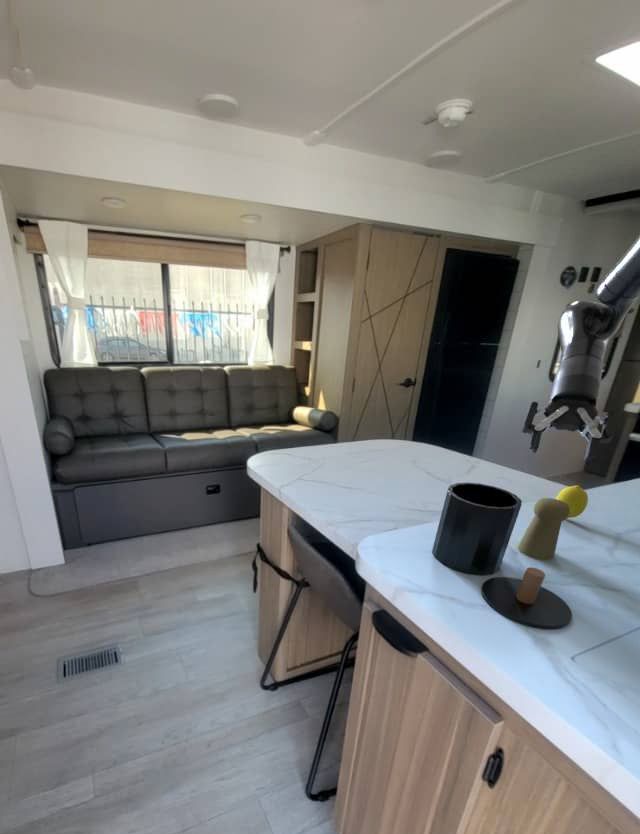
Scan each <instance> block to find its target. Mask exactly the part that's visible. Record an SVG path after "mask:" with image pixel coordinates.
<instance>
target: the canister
mask: <svg viewBox="0 0 640 834" xmlns="http://www.w3.org/2000/svg"><path fill="white" fill-rule="evenodd" d="M522 501H523V500H522V499H521V498H520V497H518V495H516V494H515V493H512V492H510V491H508V490H506V489H504V488H500V487H497V486H494V485H489V484H483V483H477V482H456V483H454V484H450V485H449V486H448V487H447V491H446V495H445V499H444V501H443V502H444V504H443V507H442V509H441V514H440V518H439V522H438V526H437V531H436V534H435V539H434V543H433V546H432V550H431V553H432V555H433V557H434V559H435V560H437V562H439V563H440V564H441V565H443V566H445V567H447V568H448V569H450V570H453V571H455V572H458V573H462V574H465V575H470V576H479V577H484V576H491V575H494V574H496V573H498V572H499V571H500V569H501V567H502V563H503V560H504V557H505V554H506V551H507V548H508V546H509V542H510V540H511V537H512V534H513V531H514V528H515V525H516V522H517V521H518V516H519V514H520V510H521V508H522V505H523V503H522Z"/></svg>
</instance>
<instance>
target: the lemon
mask: <svg viewBox="0 0 640 834" xmlns="http://www.w3.org/2000/svg"><path fill="white" fill-rule="evenodd" d="M555 499H557V500H560V501H563V502H565V503H566V504H567V505H568V506H569V508H570V511H569V515H568V517H567V518H566V519H565V520H568V519H571V518H577V517H578V516H580V515H582V514H583V512H584V511H585V510H586V508H587V506H588V502H589V497H588V494H587V492H586V490H585V489H583V488H582V487H581V486H580V485H577V484H576V485H572V486H571V485H570V486H567V487H564V488H563V489H562V490H561V491H560V492H558V494H557V496H556V498H555Z"/></svg>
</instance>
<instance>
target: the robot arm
mask: <svg viewBox="0 0 640 834" xmlns="http://www.w3.org/2000/svg"><path fill="white" fill-rule="evenodd" d="M595 295H596V298H597V300H598V301H599V302H596V301H591V300H587V299H580V300H576V301H573V302H572V303H570V304H569V305H568V306H566V307H565V309H564V310H563V311H562V313H561V315H560V317H559V320H558V324H557V335H558V340H559V345H560V351H561V355H560V359H559V363H558V364H559V365H558V368H557V370H556V373H555V375H554V379H553V381H552V387H551V392H550V396H549V401H548V404H547V405H539V402H537V401H532V402H531V403H530V406H529V408H528V410H527V413H526V416H525V420H524V422H523V426H522V429H521V432H522V433H523V434H529V435H530V440H529V444H528V449H529V450H531V453H533V454H536V453H537V452H538V450H539V447H540V444H541V443H540V442H541V438H542V434H543V433H547V432H548V431H549V430H550V429H552V428H555V430H558V431H559V430H560V431H563V430H566V431H568V432H576V431H577V432H578V433H579V434H580V436H581V437H583V438H584V439H586V441H587V444H586V447H585V454H584V459H583V460H584V461H588V462H589V461H590V460H592V459H594V458H595V457H596V456H597V454H598V452H599V449H600V448H599V447H600V444H605V445H606V444H609V443H610V442H611V440H612V438H614V437H615V434H616V423H617V413H618V412H617V410H615V409H610V410H608V412H607V411H598V409H597V403H598V397H599V391H600V386H601V382H602V378H603V377H602V376H603V362H604V357H605V354H606V353H605V352H606V344H605V341H607V340H609V339H610V338H612V337H613V336H614V335H615V334H616V333H617V331H618V330H619V328H620V327H621V324H622V323H623V321H624V319H625V317H626V316H627V314H628V312H629V311H630V310H631V308H632V307H633V305H634V304H635V302H636V301H637V299H638V298H639V297H640V234H639V235H638V236H637V237H636V239H635V240H634V242H633V243H632V244H631V246H629V248H627V250H626V252H625V253H624V254H622V256H621V257H620V259H618V261H617V262H616V263H615V264H614V265H613V267H612V268H611V269H610V270H609V272H607V274H606V275H605V276H604V277H603V279H602V280H601V281H600V282H599V284H598V285H597V287H596V290H595ZM600 302H601V303H600ZM542 413H543V415H544V416H545V418H543V419H544V420H542V421H541V422H539V423H538V424H537V425H535V424H533V421H534V419H535V418H537V417H539V416H540V414H542ZM595 419H597V420H598V422H599V425H602V428H601V432H600V430H599V429H598V427H597V424H596V423H595V421H594V420H595Z"/></svg>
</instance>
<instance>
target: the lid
mask: <svg viewBox="0 0 640 834" xmlns="http://www.w3.org/2000/svg"><path fill="white" fill-rule="evenodd" d="M545 577H546V573H545V572H544V571H543V570H541V569H539V568H536V567H527V568H526V569H525V571H524V574H523V577H522V579H520V578H517V577H508V576H497V577H496V576H495V577H492V578H488V579H486V580H485V581H484V582H483V583H482V585H481V589H480V593H481V596H482V599H483V600H484V601H485V603H486V604H487V605H488V606H489V607H490V608H492V609H493V610H494V611H495V612H496V613H498V614H499V615H501V616H503V617H505V618H507V619H509V620H511V621H513V622H516V623H518V624H520V625H524V626H527V627H531V628H536V629H542V630H558V629H562V628H565V627H566V626H567V625H569V624H570V622H571V620H572V617H573V613H572V610H571V607H570V606H569V605H568V603H567V602H566V601H565V600H564V599H562V598H561V597H560V596H558V595H557V594H556V593H554V592H553V591H551V590H549V589H547V588H546V587H544V586H542V584H543V582H544V580H545Z"/></svg>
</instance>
